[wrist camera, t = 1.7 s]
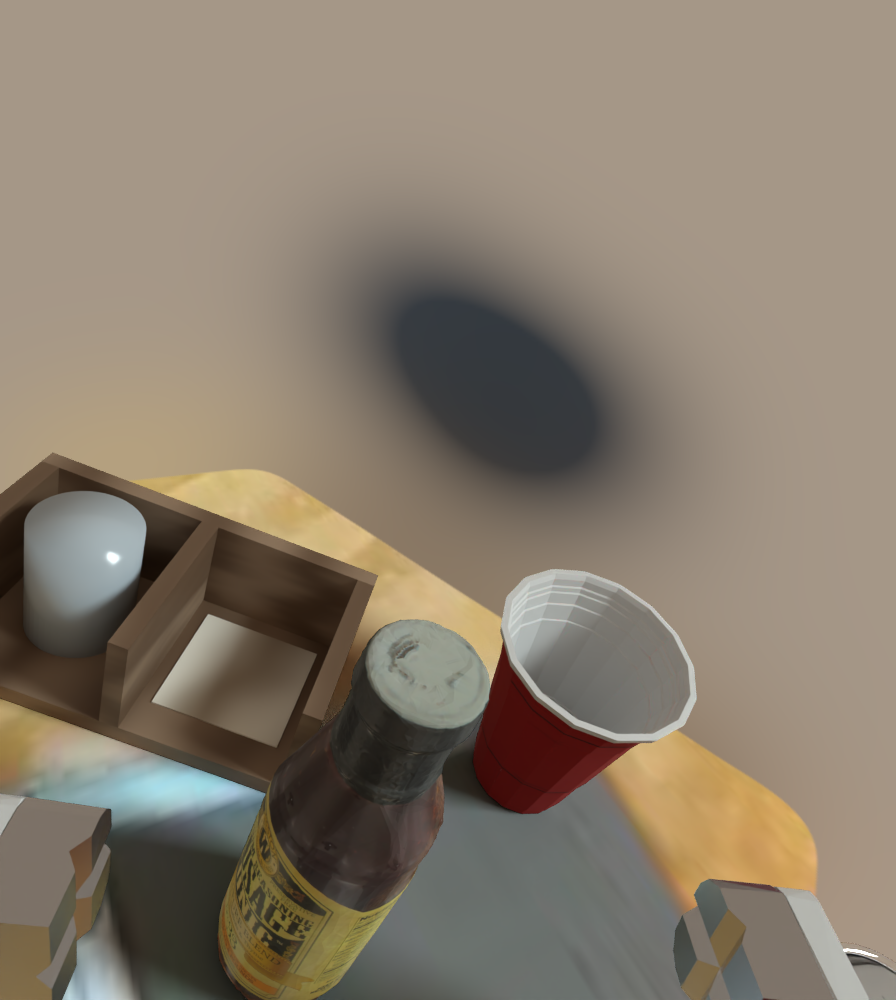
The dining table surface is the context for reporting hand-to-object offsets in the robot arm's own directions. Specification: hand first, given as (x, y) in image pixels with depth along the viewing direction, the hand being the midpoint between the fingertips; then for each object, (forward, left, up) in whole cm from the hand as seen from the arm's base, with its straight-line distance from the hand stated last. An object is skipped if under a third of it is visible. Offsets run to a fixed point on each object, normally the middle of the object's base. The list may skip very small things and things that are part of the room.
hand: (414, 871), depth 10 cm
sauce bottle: (0, +10, -26) cm, 28 cm away
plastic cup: (+10, +23, -26) cm, 37 cm away
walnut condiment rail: (-12, +22, -26) cm, 36 cm away
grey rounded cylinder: (-17, +22, -25) cm, 38 cm away
